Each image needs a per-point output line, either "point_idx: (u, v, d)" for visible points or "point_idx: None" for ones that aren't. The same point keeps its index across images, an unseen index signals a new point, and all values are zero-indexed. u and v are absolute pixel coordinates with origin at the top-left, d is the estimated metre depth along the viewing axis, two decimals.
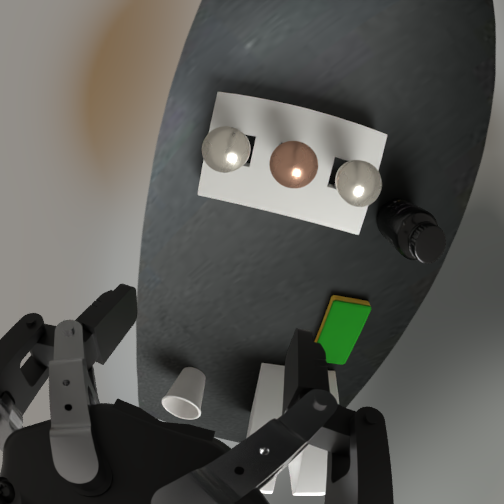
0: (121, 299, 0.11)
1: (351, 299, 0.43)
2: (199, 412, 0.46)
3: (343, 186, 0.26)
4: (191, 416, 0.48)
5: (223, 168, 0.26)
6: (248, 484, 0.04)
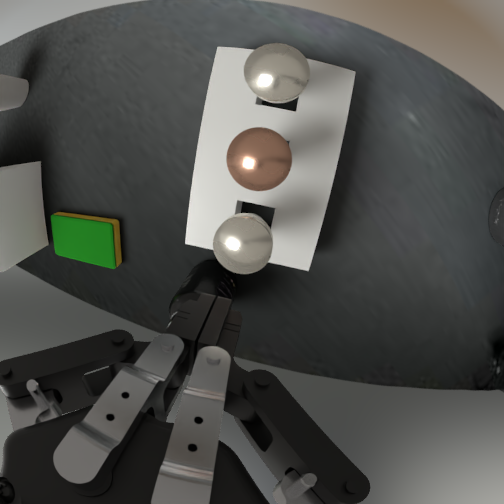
0: (209, 309, 0.12)
1: (118, 243, 0.36)
2: None
3: (235, 225, 0.21)
4: None
5: (249, 69, 0.16)
6: (209, 455, 0.05)
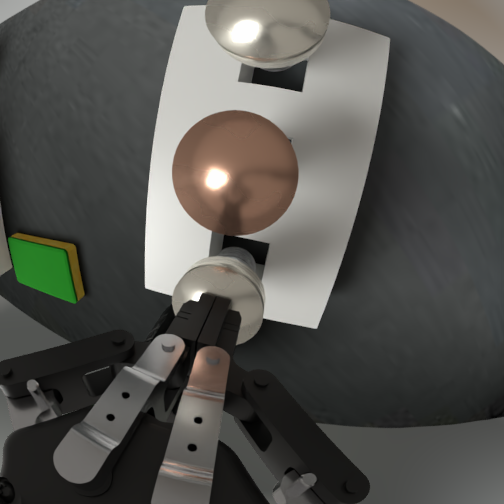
0: (210, 309, 0.12)
1: (77, 273, 0.27)
2: None
3: (203, 279, 0.13)
4: None
5: (215, 9, 0.07)
6: (209, 455, 0.05)
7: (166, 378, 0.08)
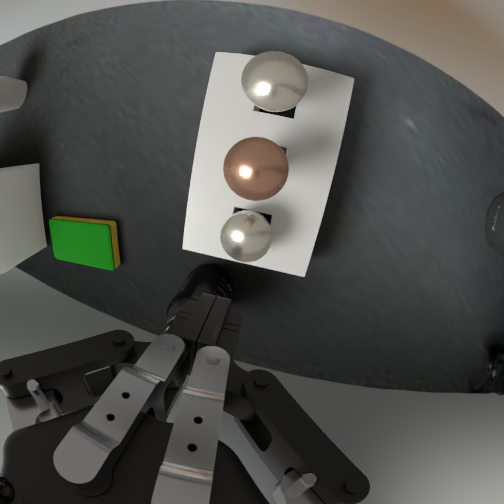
0: (210, 309, 0.12)
1: (116, 244, 0.36)
2: None
3: (239, 220, 0.25)
4: None
5: (247, 78, 0.17)
6: (209, 454, 0.05)
7: (166, 378, 0.08)
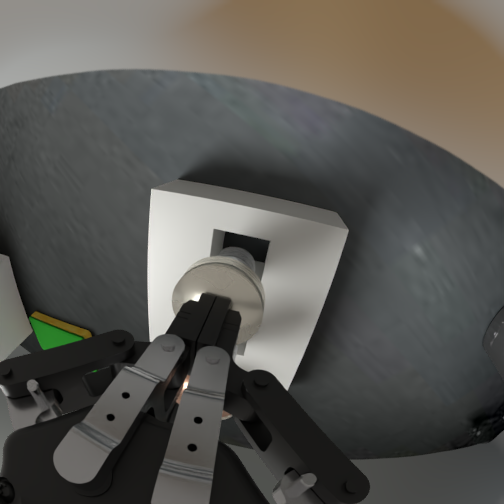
0: (210, 309, 0.12)
1: None
2: None
3: None
4: None
5: (179, 305, 0.14)
6: (209, 455, 0.05)
7: (166, 378, 0.08)
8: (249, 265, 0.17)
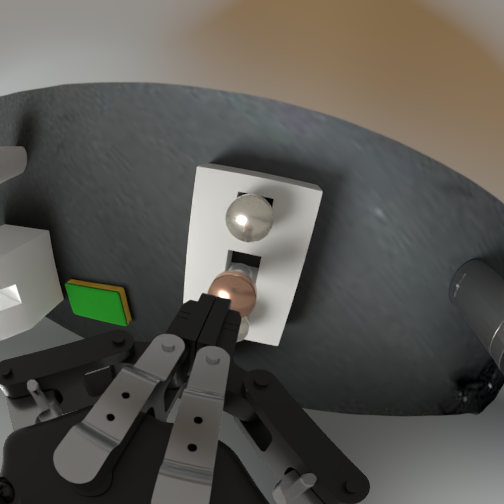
0: (210, 309, 0.12)
1: (126, 305, 0.43)
2: None
3: None
4: None
5: (229, 218, 0.27)
6: (209, 455, 0.05)
7: (166, 378, 0.08)
8: None
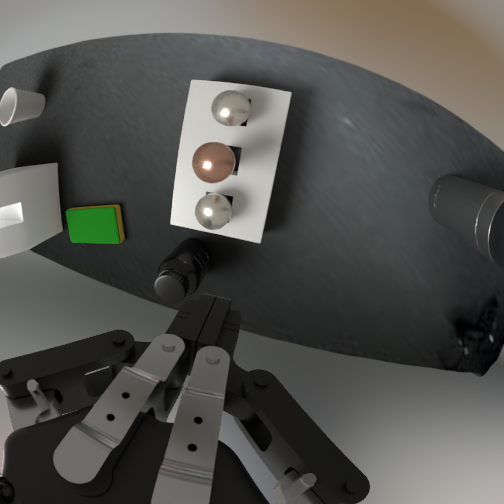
0: (210, 309, 0.12)
1: (120, 223, 0.46)
2: (6, 124, 0.31)
3: (207, 199, 0.35)
4: (1, 118, 0.31)
5: (214, 107, 0.30)
6: (209, 455, 0.05)
7: (166, 378, 0.08)
8: None
